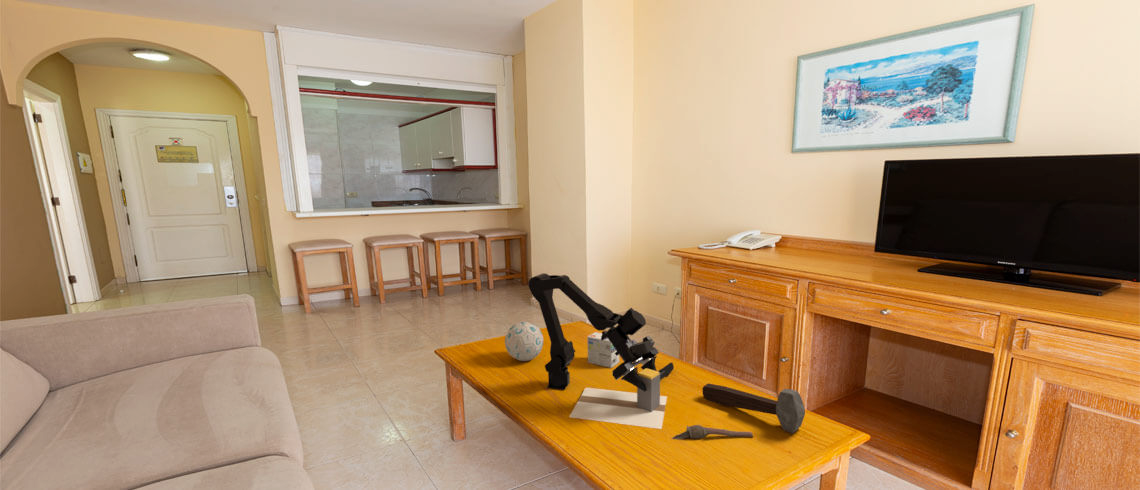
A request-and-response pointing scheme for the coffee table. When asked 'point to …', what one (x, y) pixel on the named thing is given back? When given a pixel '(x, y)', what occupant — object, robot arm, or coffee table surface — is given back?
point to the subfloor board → (617, 408)
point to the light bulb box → (601, 351)
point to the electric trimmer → (666, 370)
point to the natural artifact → (707, 432)
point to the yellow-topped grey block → (649, 390)
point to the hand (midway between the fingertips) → (652, 386)
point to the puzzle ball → (524, 341)
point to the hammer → (761, 404)
